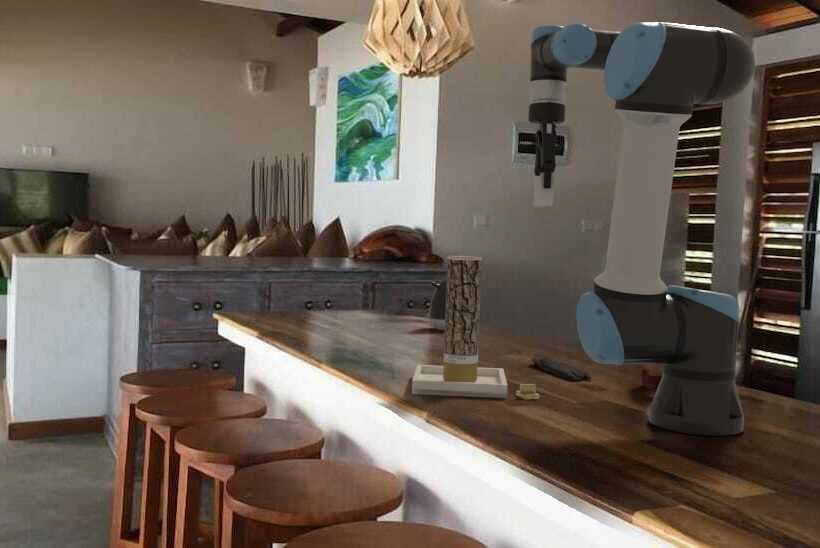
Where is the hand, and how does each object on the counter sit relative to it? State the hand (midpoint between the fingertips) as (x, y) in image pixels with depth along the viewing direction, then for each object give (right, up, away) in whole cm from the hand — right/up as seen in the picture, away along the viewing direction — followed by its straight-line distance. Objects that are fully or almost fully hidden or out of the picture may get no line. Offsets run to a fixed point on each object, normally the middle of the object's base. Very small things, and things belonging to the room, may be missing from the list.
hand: (542, 206), depth 180 cm
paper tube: (-18, -36, -9) cm, 41 cm away
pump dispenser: (-17, -31, +78) cm, 86 cm away
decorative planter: (+25, -38, -4) cm, 46 cm away
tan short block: (-5, -38, -16) cm, 42 cm away
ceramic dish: (-18, -37, -9) cm, 42 cm away
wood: (+6, -37, +12) cm, 39 cm away
